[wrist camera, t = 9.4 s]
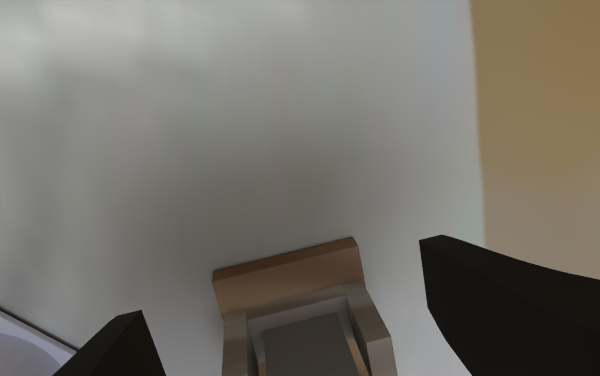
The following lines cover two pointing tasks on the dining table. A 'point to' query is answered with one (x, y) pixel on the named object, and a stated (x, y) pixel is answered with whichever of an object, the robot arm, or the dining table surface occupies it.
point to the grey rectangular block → (309, 349)
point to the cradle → (300, 306)
